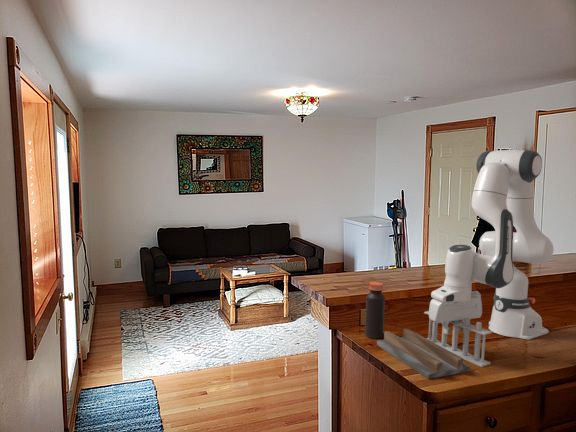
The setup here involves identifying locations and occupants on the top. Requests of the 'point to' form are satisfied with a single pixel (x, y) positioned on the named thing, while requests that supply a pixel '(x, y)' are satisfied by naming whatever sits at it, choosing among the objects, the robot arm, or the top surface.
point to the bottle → (375, 311)
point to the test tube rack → (467, 328)
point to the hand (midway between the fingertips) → (454, 332)
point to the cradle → (422, 354)
